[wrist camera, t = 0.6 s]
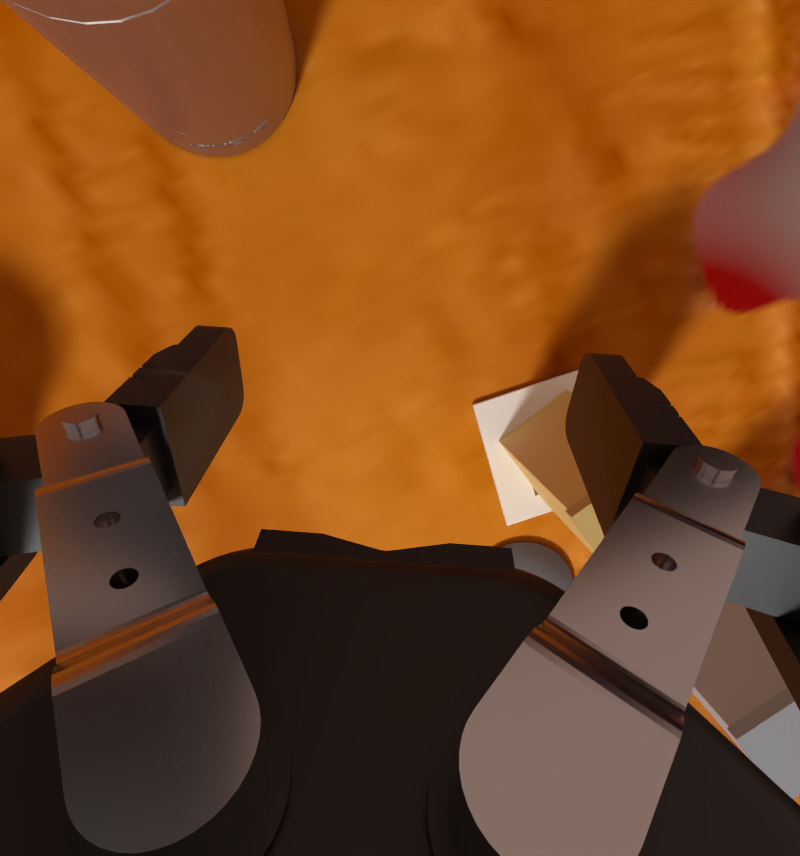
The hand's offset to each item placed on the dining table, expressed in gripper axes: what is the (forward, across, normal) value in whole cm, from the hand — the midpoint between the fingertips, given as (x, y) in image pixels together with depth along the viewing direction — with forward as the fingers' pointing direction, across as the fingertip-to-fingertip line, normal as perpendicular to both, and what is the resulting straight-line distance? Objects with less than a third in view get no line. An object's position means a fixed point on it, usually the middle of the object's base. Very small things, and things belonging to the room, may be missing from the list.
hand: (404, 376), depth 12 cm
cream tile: (+18, -10, +14) cm, 25 cm away
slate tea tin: (+15, -20, +26) cm, 36 cm away
